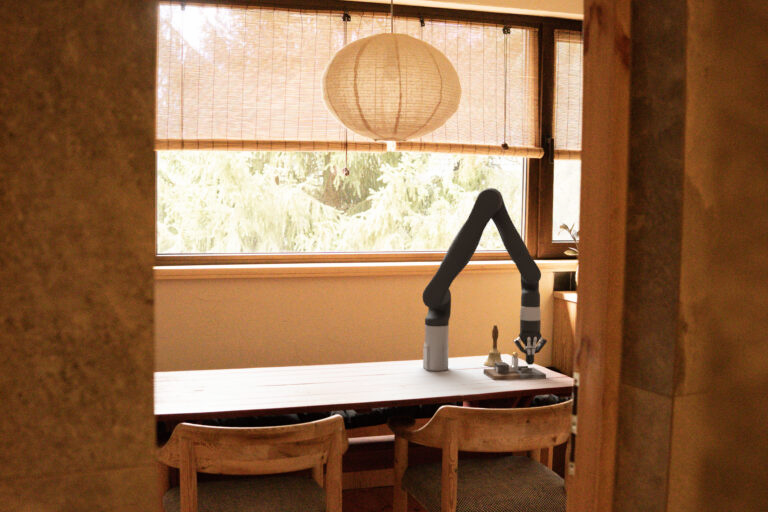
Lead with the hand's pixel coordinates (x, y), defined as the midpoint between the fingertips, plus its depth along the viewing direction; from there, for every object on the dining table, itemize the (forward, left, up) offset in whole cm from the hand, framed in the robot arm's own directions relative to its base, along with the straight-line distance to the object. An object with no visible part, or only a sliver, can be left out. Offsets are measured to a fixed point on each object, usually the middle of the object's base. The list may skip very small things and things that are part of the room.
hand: (529, 364), depth 264 cm
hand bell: (-7, +20, -5) cm, 22 cm away
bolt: (-9, 0, -3) cm, 9 cm away
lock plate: (-6, 0, -4) cm, 7 cm away
